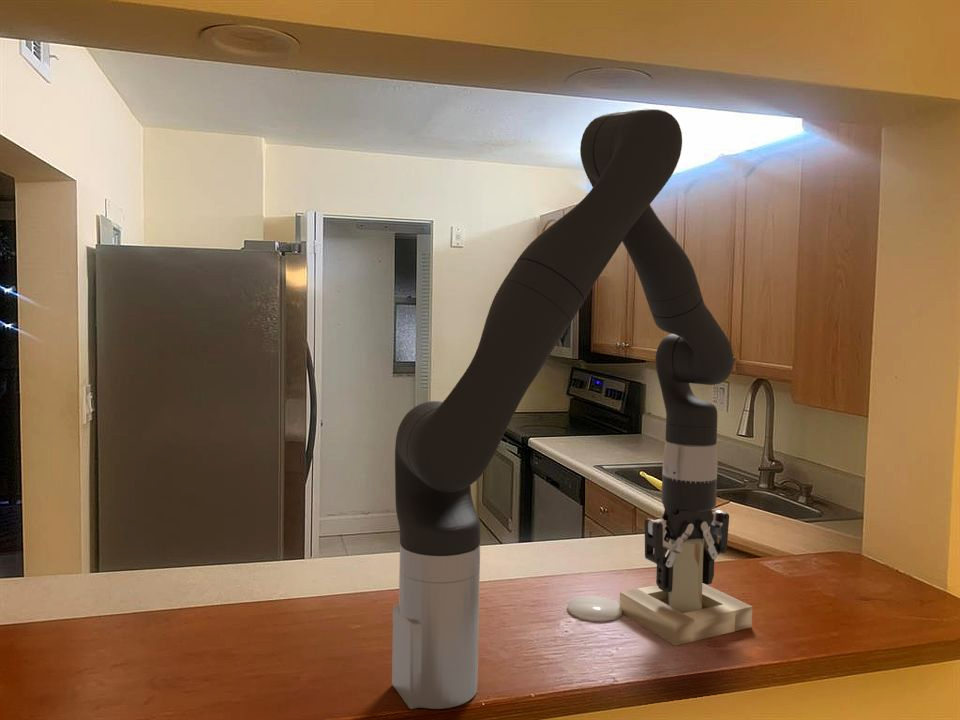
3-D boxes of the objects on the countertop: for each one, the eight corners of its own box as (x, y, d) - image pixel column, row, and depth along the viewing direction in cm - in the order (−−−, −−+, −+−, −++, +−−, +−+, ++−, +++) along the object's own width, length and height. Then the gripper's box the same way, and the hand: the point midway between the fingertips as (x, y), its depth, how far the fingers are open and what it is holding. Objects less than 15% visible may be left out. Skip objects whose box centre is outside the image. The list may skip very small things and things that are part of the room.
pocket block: (675, 645, 95) (675, 623, 95) (619, 611, 106) (619, 591, 105) (751, 627, 101) (752, 606, 101) (691, 596, 112) (692, 578, 112)
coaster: (588, 625, 101) (588, 621, 101) (557, 604, 108) (557, 600, 108) (633, 615, 104) (633, 611, 104) (600, 596, 111) (600, 592, 111)
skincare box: (701, 630, 100) (705, 544, 99) (669, 627, 101) (672, 542, 100) (697, 611, 106) (700, 531, 105) (667, 608, 107) (669, 528, 106)
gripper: (668, 483, 95) (664, 604, 96) (746, 474, 102) (741, 588, 103) (632, 472, 102) (629, 585, 103) (708, 464, 109) (704, 571, 110)
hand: (685, 586), depth 103 cm, fingers closed on skincare box, 7 cm apart
